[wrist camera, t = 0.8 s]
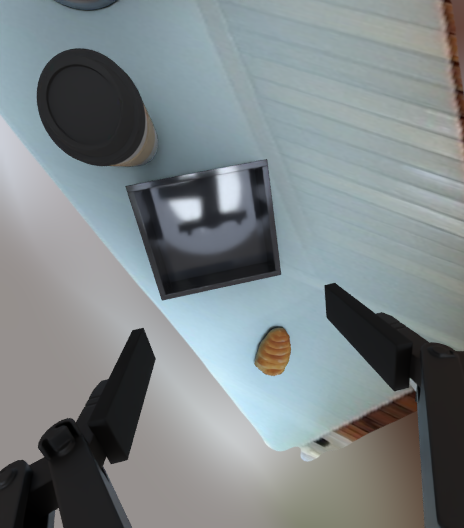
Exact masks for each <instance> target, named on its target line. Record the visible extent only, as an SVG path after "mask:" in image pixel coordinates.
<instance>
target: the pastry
mask: <svg viewBox="0 0 464 528" xmlns="http://www.w3.org/2000/svg"><path fill="white" fill-rule="evenodd" d="M289 338H290V337H289V335H288V334H287V332H286V330H285V329H284V328H275V329H272V330H271V331H270V332H269V333H268V334H267V336H266V337H265V338H264V339H263V340H262V341H261V343H260V346H259V349H258V352H257V354H256V359H255V363H254V364H255V366H256V367H257V368H258V369H259V370H261V371H262V372H263V373H264V374H267V375H271V376H276V375H279V374H282V373H283V372H284V369H285V367H286V365H287V364H288V362H289V357H290V353H291V347H290V346H291V344H290V340H289Z"/></svg>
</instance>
